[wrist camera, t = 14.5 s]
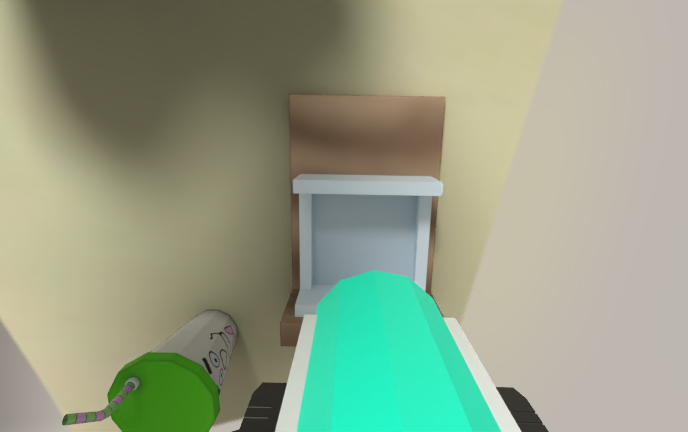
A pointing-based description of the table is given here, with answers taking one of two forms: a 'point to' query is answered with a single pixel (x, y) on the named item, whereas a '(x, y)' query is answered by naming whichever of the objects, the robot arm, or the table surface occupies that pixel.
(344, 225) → the light blue holder
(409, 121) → the track
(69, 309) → the table surface
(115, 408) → the cup
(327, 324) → the candle
